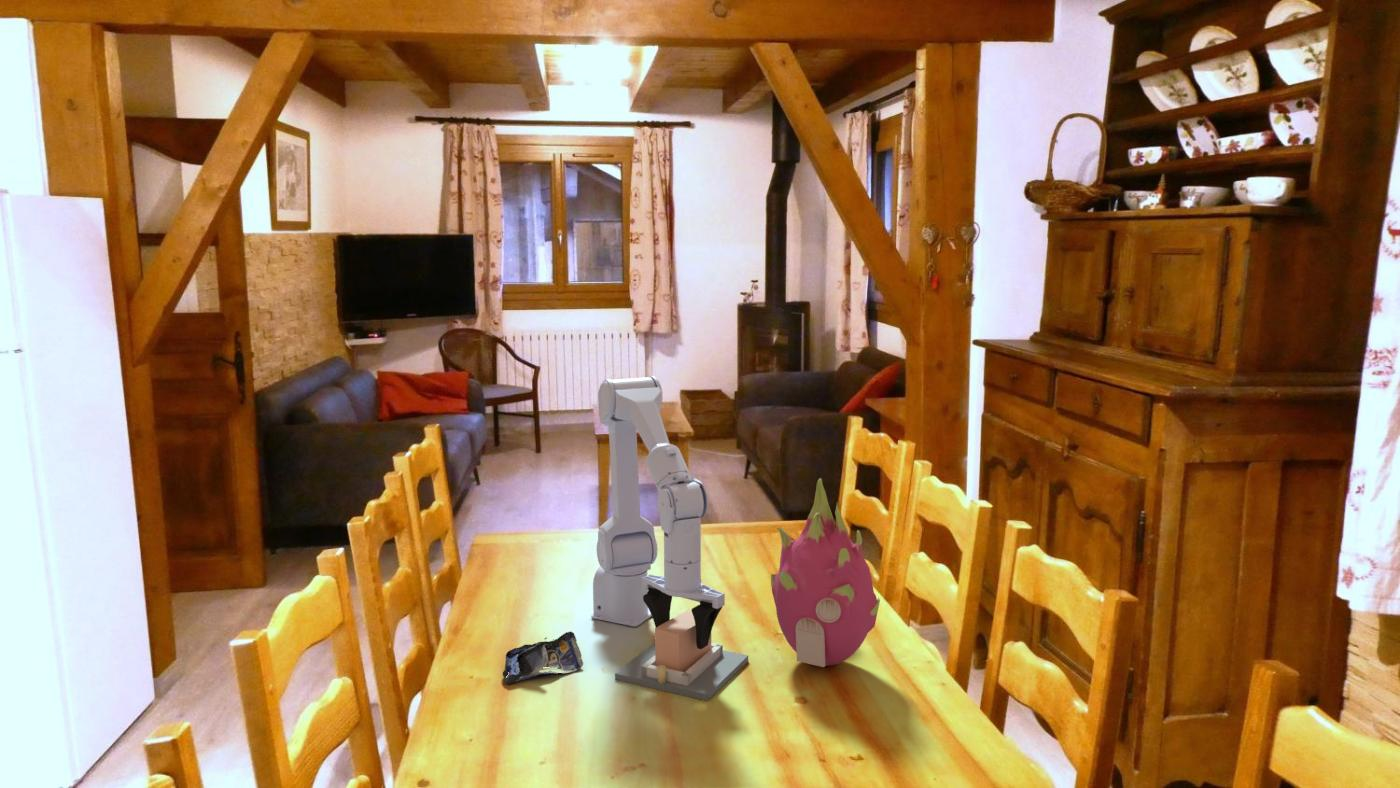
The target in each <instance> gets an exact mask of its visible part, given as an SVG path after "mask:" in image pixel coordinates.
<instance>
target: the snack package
mask: <svg viewBox="0 0 1400 788" xmlns="http://www.w3.org/2000/svg"><path fill="white" fill-rule="evenodd" d="M547 639H548V636H546V637H545V638H544V640H545V641H538V642H537V643H533V644H523V645H522V646H519V647H515V648H512V649H510V650H509V651H507V652H506V654H505V664H504V670H503V672H502V676H503V679H504V681H505V684H506V685H511V684H514V683H515V682H520V681H523V680H528V679H531V678H534V677H535V678H536V677H537V676H539V675H547V674H549V675H550V674H557V671H552V669H549V670H548V671H541V670H544V669H543V667H550V668H557V669H562V670H561V671H570V672H568V674H569V673H573V672H576V671H578V670H580V669H582V667H583V666H584V661H583V658H582V652H581V650H580V647H579V645H578V642H577V637H576V634H575V633H574V632H573V631H568V632H565V633H562V635H561V636H559V637H557V638H556V639H552V640H550V641H547ZM557 669H556V670H557ZM540 671H541V672H540ZM508 672H509V675H508ZM563 674H566V672H563ZM507 675H508V676H507ZM506 676H507V678H506Z"/></svg>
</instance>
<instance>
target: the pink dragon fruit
mask: <svg viewBox="0 0 1400 788" xmlns="http://www.w3.org/2000/svg"><path fill="white" fill-rule="evenodd" d="M815 487H816V489H815V494H814V500H813V505H812V508H811V509H810V513H809V514H808V516H807V519H806V522H805V526H804V527H803V529H802V532H801V533H800V535H799V537H798V538H797V539H794V538H793V537H792V536H791V535H790V534H788V532H787V531H786V530H784V529H783V528H782V527H781V526H780V527H777V528H776V529H777V530H778V531H779V534H780V539H781V550H780V558H779V568H778V572H777V573H770V586H771V593H772V596H773V600H774V605H775V612H776V617H777V621H778V624H779V627H780V630H781V632H782V634H783V636H784V638H785V640H786V642H787V643H788V645H789V646H790V647H791V648H792V650H793V651H794V652H795V653H796V661H797V662H799V663H805V664H807V665H812V666H817V667H821V668H825V667H826V666H827V667H829V666H834V665H839V664H841V663H843V662H845V661H846V660H848V659H850V658H851V657H853V655H855V653H856V652H857V651H858V650H859V649H860V647H861V646H862V644H863V643H864V641H865V639H866V638H867V635H868V634H869V633H870V632H871V631H872V629H874V628H875V626H876V621H877V617H878V612H879V606H880V601H881V598H880V597H877V595H876V594H875V592H874V585H873V579H872V575H871V569H870V567H869V564H868V563H867V561H866V560H865V558H864V556H863V547H862V546H863V537H862V534H861V531H860V530H859V529H857V531H856V542H855V543H854V542H853V541H852V540H851V538H850V535H849V531H848V528H847V526H846V523H845V522H844V519H843V516H842V513H841V511H840V508H839V505H838V502H836V506H835V511H834V515H835V518H834V516H833V513H832V511H831V507H830V505H829V504H830V503H829V501H828V496H827V492H826V490H825V488H824V484H823V479H822V478H821V477H820V478H818V480H817V482H816V486H815Z"/></svg>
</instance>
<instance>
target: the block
mask: <svg viewBox="0 0 1400 788" xmlns="http://www.w3.org/2000/svg"><path fill="white" fill-rule="evenodd" d="M654 643H655V666H659V665H665V666H666V668H667V669H672V670H676V671H681V672H686V671H687V670H688V669H689V668H690V667H691V666H692V665H694V664H695V663H696V662H697V661H698V660H699V659H700V658H702V657H703V656H704V655H705V654H706V653H707V652H708V651H710V650H711V643H712V633H711V634H710V638H709V642H708V645H707V646H706V647H704V648H703V649H698V648H697V644H696V626H695V620H694V617H693V614H692V609H687V610H685V611H682V612H681V613H679V614H678V615H675V616H674V617H672V618H670V620H669V621H667V622H665V623H663V624H662V625H660V626H658V627H654Z"/></svg>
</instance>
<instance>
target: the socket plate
mask: <svg viewBox="0 0 1400 788" xmlns="http://www.w3.org/2000/svg"><path fill="white" fill-rule="evenodd" d="M723 648H724V646H723V644H719V643H715V642H711V650H710V651H708V652H707V653H706V654H705V655H704V656H703V657H702V658H700V659H699V660H698V661H697V662H696V663H695V664H694V665H692V666H691V667H690V668H689V669H688V670H687V671H686V672H681V671H676V670H672V669H667V668H666V666H665V665H659V666H655V642H653V643H652V644H651V645H650V646H648V647H647V648H646V649H644V650H643V651H641V653H640V654H638V655H636V657H634V658H633V659H631V661H629V662H628V663H626V664H624V666H622V667H621V668H620V669H619V670H617V671H616V672H615V673H614V680H617V681H621V682H625V683H630V684H632V685H633V684H634V685H637V686H642V687H646V688H649V689H650V688H651V689H655V690H658V691H659V690H660V691H664V692H667V693H672V694H676V695H680V696H685V697H690V698H694V699H697V700H702V701H706V702H708V701H709V700H710V699H711V698H712V697H714V696H715V695H716V693H717V692H719V691H720V690H721V689H722V688H723V686H724V685H726V684H727V683H728V682H729V681H730V680H731V679H732V678H733V677H734V676H735V675H736V674H737V673H738V672H739V671H740V670H741V669H742V668H743V667H744V666H745V665H746V664H747V663H748V662H749V655H748V654H742V653H737V652H732V651H730V650H724V649H723Z"/></svg>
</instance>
